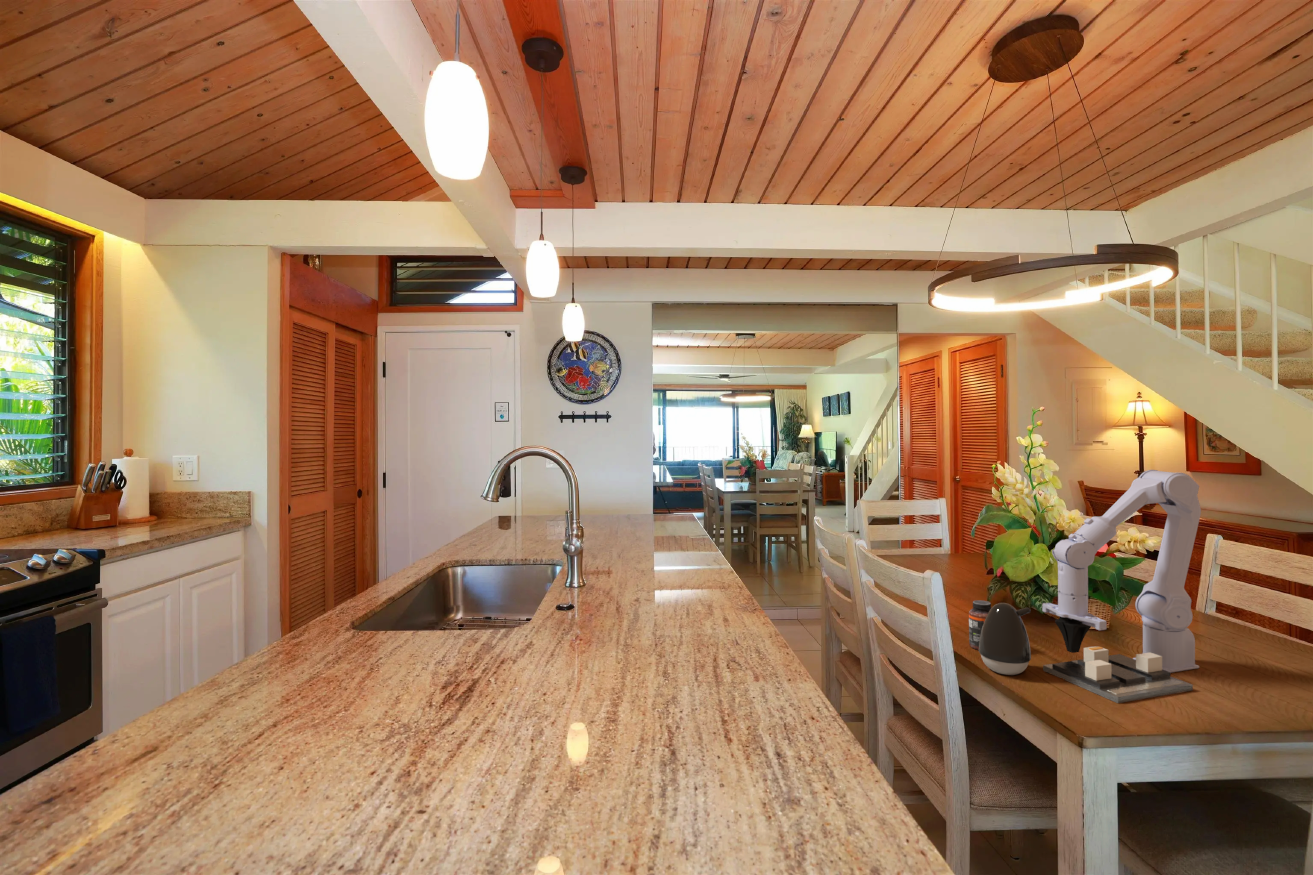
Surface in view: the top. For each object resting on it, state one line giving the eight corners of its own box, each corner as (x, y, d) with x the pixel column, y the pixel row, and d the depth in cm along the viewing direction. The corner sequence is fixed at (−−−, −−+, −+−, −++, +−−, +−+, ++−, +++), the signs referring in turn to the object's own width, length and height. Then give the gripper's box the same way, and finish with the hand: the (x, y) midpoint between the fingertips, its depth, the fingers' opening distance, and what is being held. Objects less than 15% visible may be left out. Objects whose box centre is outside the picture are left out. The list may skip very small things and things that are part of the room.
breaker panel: (1112, 660, 143) (1112, 650, 143) (1192, 690, 127) (1192, 679, 127) (1043, 670, 138) (1043, 660, 138) (1117, 703, 122) (1117, 692, 121)
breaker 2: (1150, 665, 134) (1150, 652, 134) (1162, 670, 131) (1162, 656, 131) (1136, 668, 133) (1136, 654, 133) (1147, 672, 130) (1147, 658, 130)
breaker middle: (1097, 659, 138) (1097, 644, 138) (1108, 663, 136) (1108, 648, 136) (1083, 661, 137) (1083, 646, 137) (1094, 665, 135) (1094, 650, 135)
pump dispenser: (1039, 681, 132) (1039, 611, 132) (987, 678, 134) (986, 608, 134) (1021, 663, 142) (1021, 597, 142) (973, 660, 144) (972, 596, 144)
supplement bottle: (996, 645, 154) (996, 600, 153) (996, 653, 148) (996, 606, 148) (969, 641, 156) (969, 597, 156) (968, 649, 151) (968, 603, 151)
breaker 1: (1099, 673, 130) (1099, 659, 130) (1111, 678, 128) (1111, 663, 128) (1085, 675, 129) (1085, 661, 129) (1096, 680, 127) (1096, 666, 127)
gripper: (1032, 586, 147) (1032, 642, 148) (1088, 602, 133) (1088, 665, 134) (1055, 583, 149) (1055, 639, 150) (1113, 600, 135) (1114, 661, 136)
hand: (1073, 651), depth 142 cm, fingers closed
